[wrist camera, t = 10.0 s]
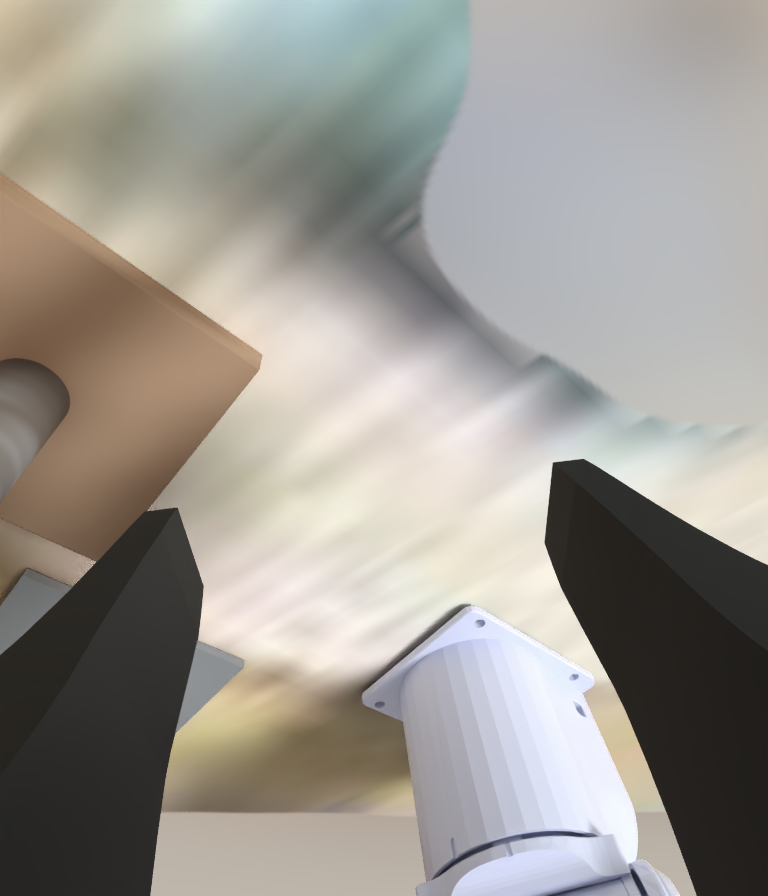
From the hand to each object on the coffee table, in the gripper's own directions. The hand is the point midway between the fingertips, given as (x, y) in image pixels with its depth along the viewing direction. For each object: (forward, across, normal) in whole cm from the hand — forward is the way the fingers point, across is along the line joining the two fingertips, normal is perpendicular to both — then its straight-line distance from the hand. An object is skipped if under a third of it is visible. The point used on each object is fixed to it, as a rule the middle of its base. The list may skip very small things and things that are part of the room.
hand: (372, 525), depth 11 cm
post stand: (+9, +10, 0) cm, 14 cm away
